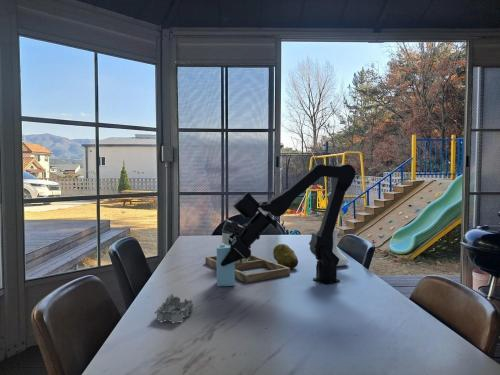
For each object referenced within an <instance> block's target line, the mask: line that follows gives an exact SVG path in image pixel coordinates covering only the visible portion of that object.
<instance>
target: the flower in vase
mask: <svg viewBox="0 0 500 375" xmlns="http://www.w3.org/2000/svg"><path fill="white" fill-rule="evenodd" d="M338 216H340V217H341V218H343V219H345V217H346V216H345V212H344V211H343V209H342V207H341V208H340V212H339V215H338ZM337 224H338V222H336V225H337ZM340 231H341V229H339V228H334V232H333V251H332V252H333V253H334V254H335V255H336V256H337V257H338V258H339V262H338V265H337V267H343V266H346V265H347V264H348V263H349V260H348V258H347V257H346V256H345V254H343V253H342V252H341V251H340V250H339V249H338V247H337V241H338V240H337V238H338V234H339V233H340Z"/></svg>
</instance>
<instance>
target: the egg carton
mask: <svg viewBox="0 0 500 375" xmlns="http://www.w3.org/2000/svg"><path fill="white" fill-rule="evenodd" d="M194 302H195V300H193V299H190V300H188V299H187V298H184V301H181V298H180V297H179V296H175V295H173V293H172V294H170V295H168V296H167V298H166V300H165V301H164V302H162V304H161V305H160V306H159V307H158V308H157V309H156V311H154V313H153V314H155V315H156V320H157V319H159V321H164V320H171V322H174V323H175V322H177V321H183V322H184V318H183V316H188V317H189V313H188V312H192V313H193V312H194ZM177 307H179V308H177ZM179 309H180V310H179ZM159 321H158V322H159ZM171 322H170V323H171Z"/></svg>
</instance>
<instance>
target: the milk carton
mask: <svg viewBox="0 0 500 375" xmlns="http://www.w3.org/2000/svg"><path fill="white" fill-rule="evenodd" d="M229 251H230V245H225V244H222V243H220V244H216V256H217V269H216V284H217V287H231V286H236V278H235V262H233V263H230V264H228V265H226V266H222V265H221V262H222V261H223V260H224V258H225V257H226V255H227V254H228V252H229Z"/></svg>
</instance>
